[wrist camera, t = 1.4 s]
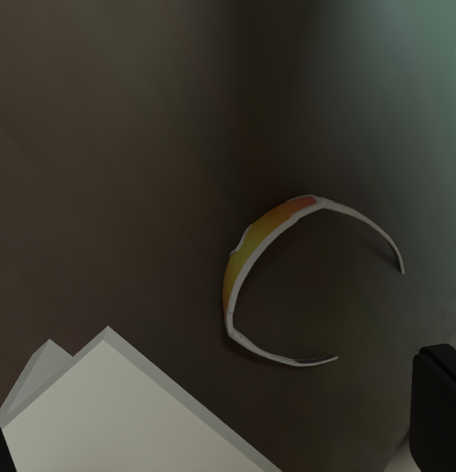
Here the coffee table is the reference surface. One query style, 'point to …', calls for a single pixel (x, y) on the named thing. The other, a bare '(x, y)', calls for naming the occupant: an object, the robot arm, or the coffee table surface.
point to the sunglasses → (257, 242)
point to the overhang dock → (114, 417)
